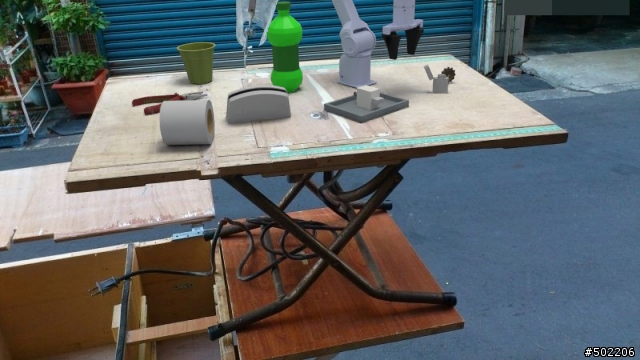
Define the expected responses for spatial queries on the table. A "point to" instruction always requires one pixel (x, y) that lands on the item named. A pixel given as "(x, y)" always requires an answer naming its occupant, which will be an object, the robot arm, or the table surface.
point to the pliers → (161, 99)
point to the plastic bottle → (285, 48)
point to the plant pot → (198, 61)
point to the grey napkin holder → (257, 103)
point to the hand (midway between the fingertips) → (402, 56)
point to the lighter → (438, 81)
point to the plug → (368, 97)
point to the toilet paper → (187, 122)
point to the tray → (352, 111)
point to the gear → (449, 73)
